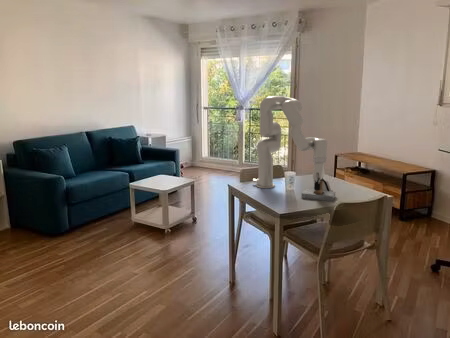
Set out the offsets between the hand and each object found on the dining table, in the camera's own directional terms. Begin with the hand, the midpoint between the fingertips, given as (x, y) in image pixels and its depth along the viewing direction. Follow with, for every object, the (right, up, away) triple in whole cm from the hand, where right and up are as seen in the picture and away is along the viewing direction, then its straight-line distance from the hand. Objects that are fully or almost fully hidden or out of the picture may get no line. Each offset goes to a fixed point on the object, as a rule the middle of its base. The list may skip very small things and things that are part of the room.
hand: (318, 187), depth 222 cm
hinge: (+7, -2, +17) cm, 19 cm away
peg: (0, -6, +1) cm, 6 cm away
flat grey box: (0, -6, +1) cm, 6 cm away
